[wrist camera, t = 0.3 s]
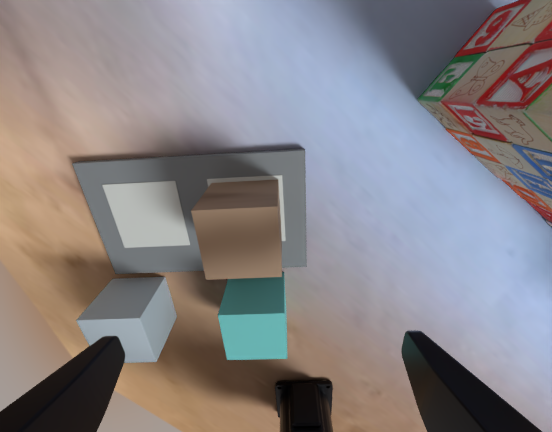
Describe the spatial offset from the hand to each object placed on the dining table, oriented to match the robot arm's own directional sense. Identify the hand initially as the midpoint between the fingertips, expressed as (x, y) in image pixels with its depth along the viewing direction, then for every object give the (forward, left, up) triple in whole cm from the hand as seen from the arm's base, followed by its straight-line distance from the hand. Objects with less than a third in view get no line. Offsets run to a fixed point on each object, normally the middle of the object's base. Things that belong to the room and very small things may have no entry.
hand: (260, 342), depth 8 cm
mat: (-2, +6, -14) cm, 15 cm away
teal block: (-10, +2, -14) cm, 18 cm away
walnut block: (-1, +2, -13) cm, 13 cm away
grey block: (-10, +13, -14) cm, 22 cm away
